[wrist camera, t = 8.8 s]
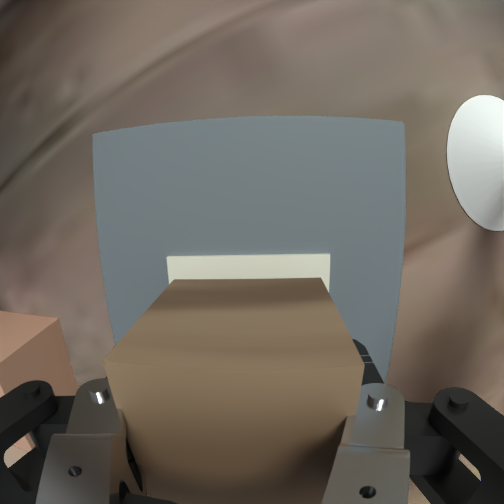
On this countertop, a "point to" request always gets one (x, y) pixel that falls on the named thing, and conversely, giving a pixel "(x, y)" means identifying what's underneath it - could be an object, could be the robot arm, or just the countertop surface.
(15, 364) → the terracotta block
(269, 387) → the walnut block
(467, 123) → the champagne flute
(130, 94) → the countertop surface
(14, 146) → the countertop surface
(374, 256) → the slate board
